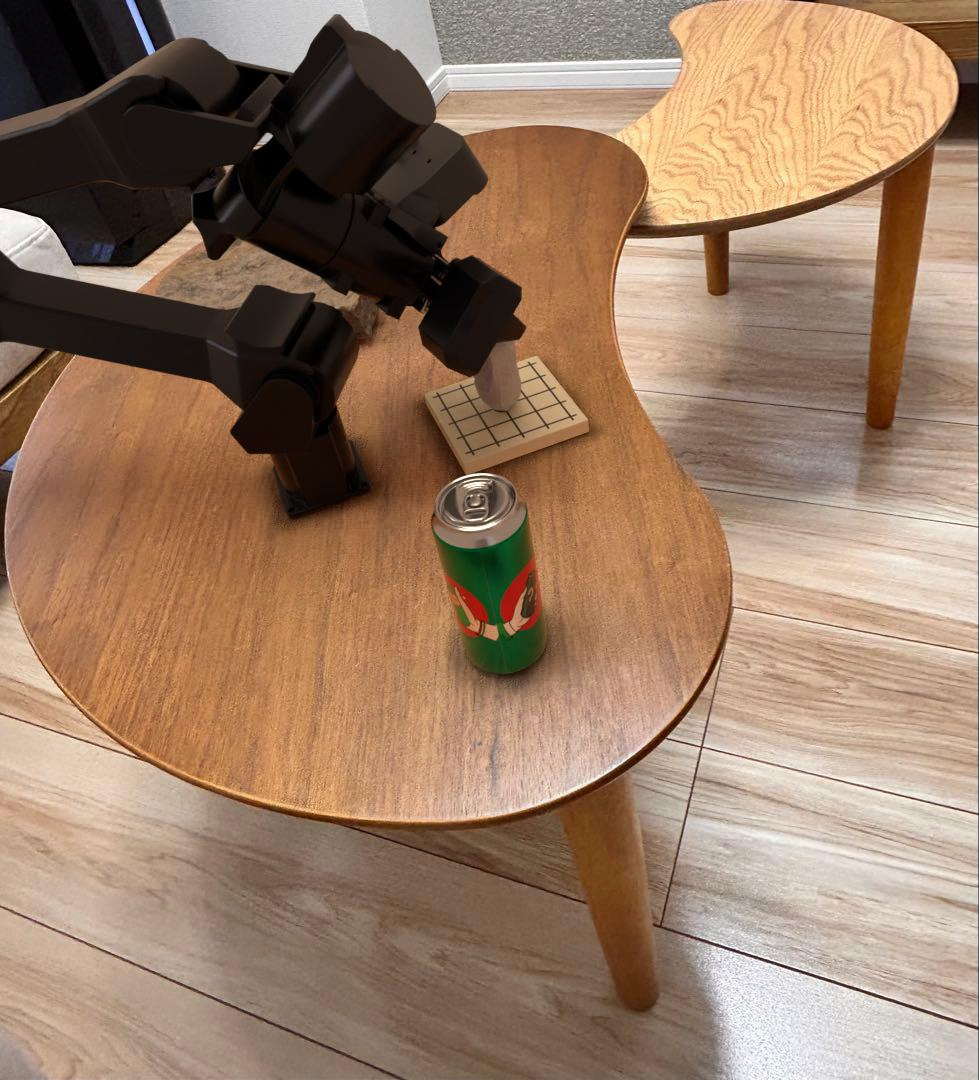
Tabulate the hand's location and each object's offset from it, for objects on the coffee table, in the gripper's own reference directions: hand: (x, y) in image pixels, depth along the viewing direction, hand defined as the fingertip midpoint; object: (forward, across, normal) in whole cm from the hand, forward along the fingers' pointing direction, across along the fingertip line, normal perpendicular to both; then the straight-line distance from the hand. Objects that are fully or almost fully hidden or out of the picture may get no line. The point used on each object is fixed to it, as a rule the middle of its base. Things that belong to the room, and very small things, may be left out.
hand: (504, 319), depth 63 cm
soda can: (-3, -19, +15) cm, 25 cm away
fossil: (+4, 0, +6) cm, 7 cm away
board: (+5, 0, +7) cm, 8 cm away
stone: (+1, +32, +12) cm, 34 cm away
